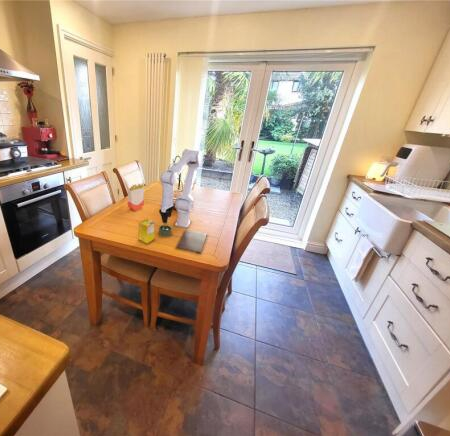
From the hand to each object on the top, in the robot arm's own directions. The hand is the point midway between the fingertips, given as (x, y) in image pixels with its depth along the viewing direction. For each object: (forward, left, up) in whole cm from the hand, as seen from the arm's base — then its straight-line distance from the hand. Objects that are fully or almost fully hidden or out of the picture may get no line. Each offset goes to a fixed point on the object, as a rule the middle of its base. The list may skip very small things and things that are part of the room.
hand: (166, 219), depth 124 cm
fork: (-2, -1, -10) cm, 10 cm away
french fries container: (-29, -31, -11) cm, 44 cm away
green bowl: (-2, -1, -10) cm, 11 cm away
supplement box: (+8, -8, -11) cm, 15 cm away
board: (0, +15, -10) cm, 18 cm away
